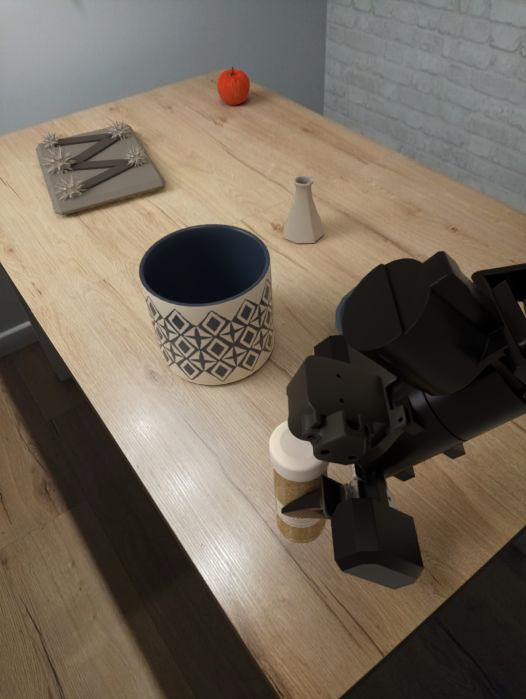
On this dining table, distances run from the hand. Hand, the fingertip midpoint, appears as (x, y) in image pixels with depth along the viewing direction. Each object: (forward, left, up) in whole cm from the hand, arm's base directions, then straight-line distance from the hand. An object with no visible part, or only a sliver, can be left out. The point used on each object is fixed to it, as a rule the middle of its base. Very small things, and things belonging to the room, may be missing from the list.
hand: (284, 486), depth 43 cm
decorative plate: (+87, -6, -13) cm, 89 cm away
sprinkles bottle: (-1, -1, -7) cm, 7 cm away
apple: (+102, -45, -13) cm, 112 cm away
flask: (+46, -30, -13) cm, 56 cm away
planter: (+30, -6, -13) cm, 33 cm away
